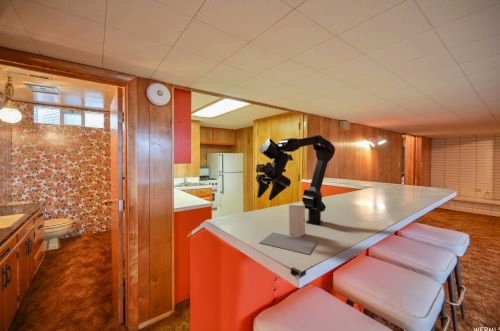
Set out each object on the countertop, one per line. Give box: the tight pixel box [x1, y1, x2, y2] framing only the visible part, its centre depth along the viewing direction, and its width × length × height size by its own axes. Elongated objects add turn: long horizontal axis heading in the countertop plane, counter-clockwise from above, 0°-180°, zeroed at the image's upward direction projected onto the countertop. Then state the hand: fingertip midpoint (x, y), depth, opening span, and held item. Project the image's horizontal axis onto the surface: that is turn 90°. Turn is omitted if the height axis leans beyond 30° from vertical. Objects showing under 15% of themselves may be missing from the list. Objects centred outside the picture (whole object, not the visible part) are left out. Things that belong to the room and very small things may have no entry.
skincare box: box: [288, 202, 306, 238], centre depth 83 cm, size 6×4×12 cm
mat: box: [258, 232, 319, 256], centre depth 75 cm, size 12×18×1 cm, turn 59°
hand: (263, 198), depth 83 cm, fingers open, 9 cm apart
